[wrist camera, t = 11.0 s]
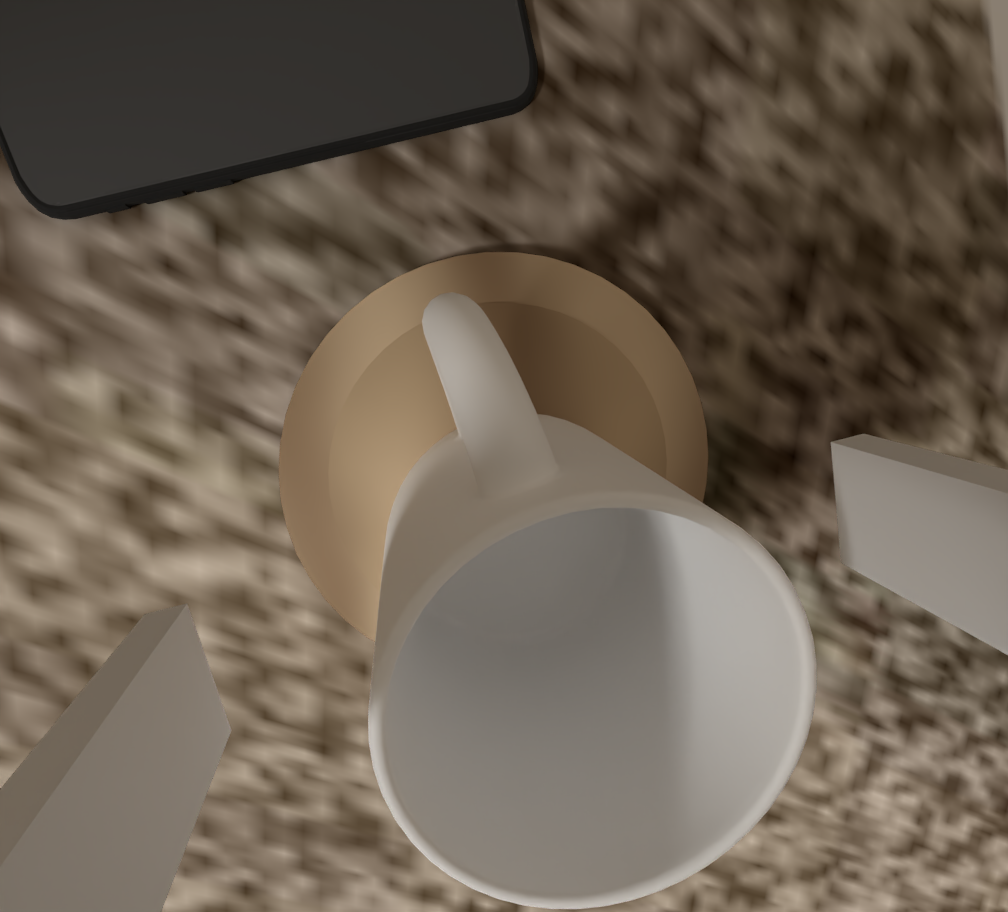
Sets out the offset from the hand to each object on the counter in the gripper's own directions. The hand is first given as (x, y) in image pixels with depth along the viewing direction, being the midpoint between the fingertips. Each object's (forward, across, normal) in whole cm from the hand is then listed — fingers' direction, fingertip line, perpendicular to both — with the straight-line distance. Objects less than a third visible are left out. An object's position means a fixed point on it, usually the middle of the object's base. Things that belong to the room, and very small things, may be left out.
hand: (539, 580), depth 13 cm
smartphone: (+10, -3, +14) cm, 17 cm away
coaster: (+9, +1, 0) cm, 9 cm away
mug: (+9, 0, 0) cm, 9 cm away
